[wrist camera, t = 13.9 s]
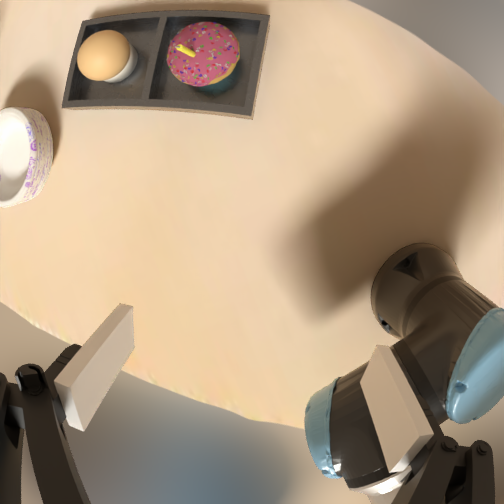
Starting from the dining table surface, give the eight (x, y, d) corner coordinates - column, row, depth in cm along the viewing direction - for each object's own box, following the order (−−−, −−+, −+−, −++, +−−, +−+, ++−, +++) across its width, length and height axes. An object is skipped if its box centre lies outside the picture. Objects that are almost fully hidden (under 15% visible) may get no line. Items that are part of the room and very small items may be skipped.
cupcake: (223, 102, 35) (205, 80, 23) (166, 80, 34) (129, 55, 23) (253, 48, 32) (248, 7, 21) (196, 28, 32) (171, -13, 20)
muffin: (145, 39, 32) (122, 19, 25) (134, 85, 34) (108, 73, 27) (102, 42, 32) (74, 27, 25) (92, 86, 34) (61, 77, 27)
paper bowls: (76, 175, 39) (44, 181, 32) (20, 212, 41) (-10, 222, 34) (53, 91, 35) (22, 86, 28) (0, 137, 37) (-30, 139, 30)
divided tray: (269, 26, 32) (269, 15, 29) (252, 119, 36) (251, 116, 33) (93, 27, 32) (82, 21, 28) (74, 110, 36) (61, 108, 33)
